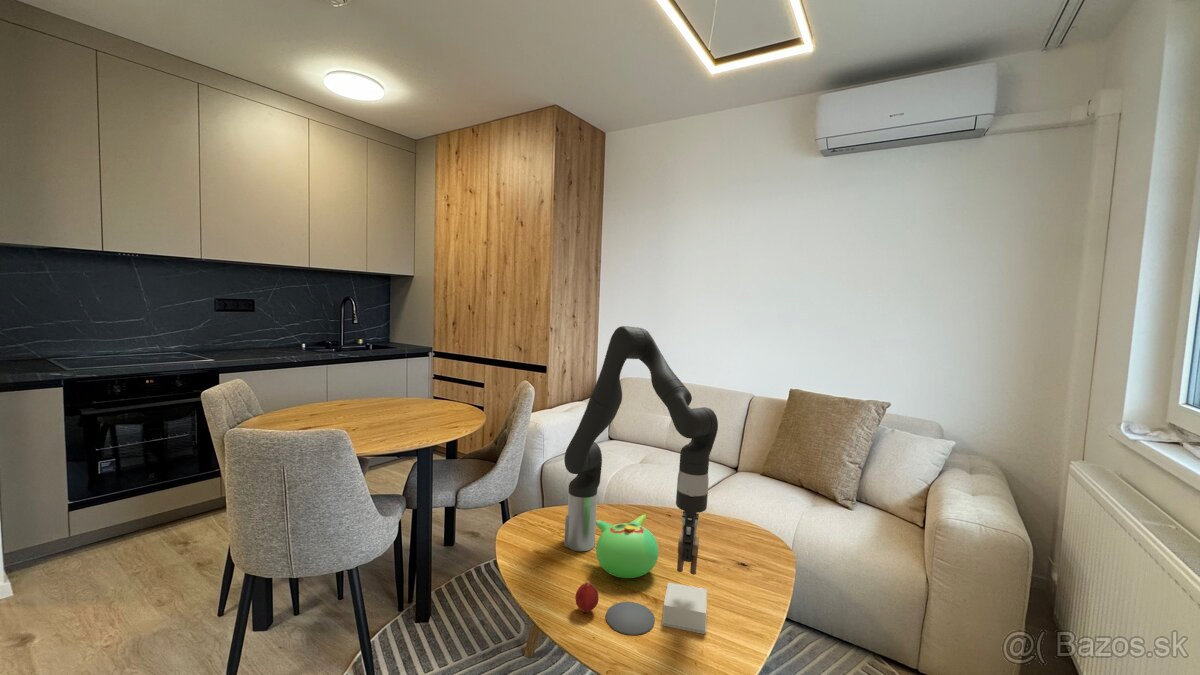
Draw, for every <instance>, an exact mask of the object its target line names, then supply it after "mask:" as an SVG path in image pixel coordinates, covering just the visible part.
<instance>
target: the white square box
mask: <svg viewBox="0 0 1200 675" xmlns="http://www.w3.org/2000/svg"><path fill="white" fill-rule="evenodd" d="M707 599H708V589H706V588H700V587H695V586H691V585H690V586H689V585H685V584H679V583H674V582H669V581H668V582H667V586H666V592H665V597H664V603H663V612H662V613H663V614H662V615H663V616H662V620H661V626H663V627H667V628H668V627H669V628H672V629H677V630H683V631H687V632H693V633H698V634H702V635H707V614H708V605H707Z"/></svg>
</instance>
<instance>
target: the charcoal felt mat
mask: <svg viewBox="0 0 1200 675" xmlns="http://www.w3.org/2000/svg"><path fill="white" fill-rule="evenodd" d="M605 620H606V623H607V625H608V626H609V627H610V628H611V629H613V630H614V631H615V632H617V633H620V634H623V635H627V636H639V635H643V634H646V633H648V632H650V631H651V630H652V629H653V628H654V626H655V622H656V621H655V620H656V617H655V615H654V613H653V612H652V610H651V609H650V608H649V607H647V606H646V605H643V604H641V603H638V602H633V601H621V602H617V603H615V604H613V605H611V606H609V608H608V609H607V610H606V614H605Z"/></svg>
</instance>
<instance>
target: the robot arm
mask: <svg viewBox="0 0 1200 675" xmlns="http://www.w3.org/2000/svg"><path fill="white" fill-rule="evenodd" d="M627 360H639V361H641V362H642V363H643V364H644V365H645V366H646V367H647V369H648V370H649V373H650V379H651V384H652V388H653V390H654V392H655V393H656V395H657V396H658V398H659V399H660V400H661V402H662V403H663V404H664V406H665V407H666V408H667V410H668V414H669V416H670V417H671V418H670V419H671V421H672V423H673V426H674V428H675V430H676V432H678V434H680V435H681V436H682V437H683V438H686V439H691V440H690V441H689V442H688V443H687V444H685V445H684V446H682V447H681V449H680V452H679V465H678V474H677V482H676V496H675V497H676V498H675V506H676V507H677V508H678V509H679V510H681V511H682V515H681V523H682V524H681V525H682V527H681V534H682V535H683V543H682V545H683V561H684V562H685V563H686V562H688V563H691V561H692V550H693V547H694V544H693V542H694V538H695V537H697V529H698V525H699V518H700V516H699V515H700V514H699V513H704V512H706V510H707V507H708V496H709V495H708V494H709V481H710V480H709V468H710V467H709V465H710V455H711V453H712V449H713V447H714V444H715V441H716V437H717V433H718V431H719V430H718V429H719V420H718V418H717V414H716V413H715V411H714V410H713V409H712V408H709V407H705V406H704V407H703V406H702V407H694V408H693V407H692V408H691V407H690V404H691V402H692V400H693V399H692V398H693V397H692V394H691V392H690V391H689V389H688V388H687V387H686V385H685V384H684V383H683V382H682V381H681V380H680V379H679V377H678V376H677V374H675V373H674V371H673V369H672V368H671V367H670V365H669V364H668V362H667V361H666V359H665V357H664V355H663V354H662V352H661V351H660V349H659V347H658V345H657V343H656V342H655V340H654V338H653V336H652V335H651V334H650V332H649V331H648V330H647V329H645V328H642V327H635V326H627V325H626V326H625V325H621V326H619V327H617V328H616V329H615V330H614V332H613V333H612V335H611V337H610V339H609V343H608V347H607V350H606V354H605V358H604V360H603V364H602V367H601V370H600V372H599V376H598V378H597V381H596V384H595V386H594V388H593V390H592V392H591V395H590V397H589V400H588V403H587V405H586V409H585V410H584V413H583V416H582V418H581V420H580V422H579V425H578V427H577V429H576V431H575V433H574V434H573V437H572V439H571V441H570V442H569V443H568V446H567V447H566V450H565V453H564V459H563V460H564V467H565V469H566V470H567V472H568V473H570V474H572V475H576V476H575V477H574V478H573V479H572V480H570V482H569V484H568V491H567V492H568V494H567V495H568V496H567V498H568V499H567V515H566V516H565V518H564V519H565V521H564V540H563V541H564V542H563V545H564V547H565V548H568V549H570V550H572V551H574V552H575V551H576V552H588V551H591V550H592V549H594V548H595V545H596V528H597V525H596V523H595V521H596V520H597V507H598V506H597V505H598V504H597V503H598V501H597V500H598V489H599V486H600V484H601V476H602V475H601V474H602V467H603V465H602V464H603V457H602V456H603V455H602V450H601V447H600V446H599V444H597V443H596V442H595V441H596V440H597V438H598V437H599V436H601V434H602V433H603V432H605V431H606V429H607V428H608V427H609V425H611V424H612V422H613V420H614V419H615V417H616V416H617V413H618V412H619V408H620V406H621V405H622V401H623V390H622V383H621V373H622V370H623V367H624V365H625V363H626V361H627ZM685 540H688V541H691V542H688V541H685Z"/></svg>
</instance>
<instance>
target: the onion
mask: <svg viewBox="0 0 1200 675" xmlns="http://www.w3.org/2000/svg"><path fill="white" fill-rule="evenodd" d="M574 598H575V604H576V606H577V607H578V609H580V610H581V611H582V612H583V613H586V614H588V613H589V612H591V611H593V610H594V609H595V608H596V607H597V605H598V604H599V603H598V602H599V592H598V590H597V588H596V586H594V585H593V583H591V582H590V581H588V580H587V581H586V582H585V583H583V584H581V585H580V586H579V587H578V589H577V591H576V593H575V597H574Z"/></svg>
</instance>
